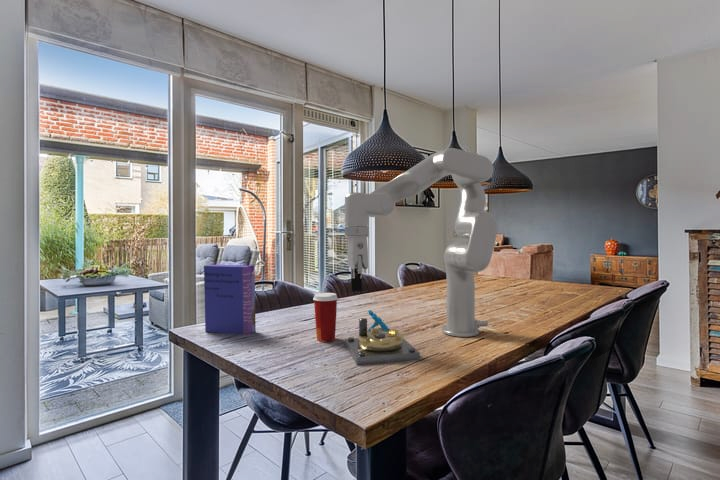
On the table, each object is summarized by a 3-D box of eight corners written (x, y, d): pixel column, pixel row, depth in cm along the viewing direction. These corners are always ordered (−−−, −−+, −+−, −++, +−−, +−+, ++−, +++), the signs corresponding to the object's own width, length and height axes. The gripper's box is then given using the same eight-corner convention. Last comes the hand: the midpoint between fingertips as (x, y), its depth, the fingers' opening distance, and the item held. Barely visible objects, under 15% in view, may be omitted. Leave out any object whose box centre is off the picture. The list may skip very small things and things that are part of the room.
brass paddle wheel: (406, 340, 122) (406, 316, 122) (397, 353, 109) (397, 327, 109) (365, 336, 126) (365, 314, 126) (352, 348, 113) (352, 323, 113)
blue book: (255, 331, 142) (254, 264, 141) (248, 335, 137) (247, 266, 136) (213, 328, 147) (212, 264, 146) (205, 331, 142) (203, 265, 141)
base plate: (399, 341, 128) (399, 333, 128) (419, 359, 111) (419, 350, 111) (344, 345, 125) (344, 337, 124) (356, 364, 107) (356, 355, 107)
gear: (390, 330, 135) (369, 309, 137) (377, 343, 135) (357, 321, 137) (391, 327, 146) (372, 307, 148) (380, 338, 146) (361, 318, 148)
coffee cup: (342, 337, 133) (342, 293, 133) (330, 344, 126) (330, 297, 125) (321, 334, 137) (320, 291, 136) (308, 341, 129) (307, 295, 129)
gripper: (374, 232, 117) (373, 294, 118) (363, 232, 132) (362, 287, 132) (349, 232, 116) (349, 295, 116) (340, 232, 130) (340, 287, 131)
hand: (356, 290), depth 124 cm, fingers closed
